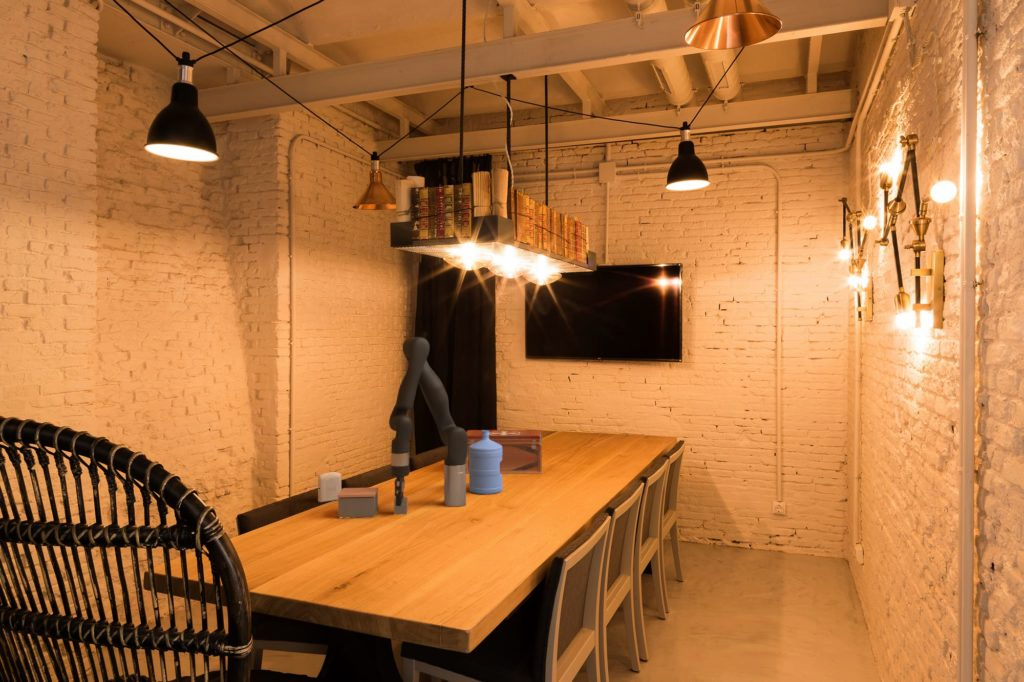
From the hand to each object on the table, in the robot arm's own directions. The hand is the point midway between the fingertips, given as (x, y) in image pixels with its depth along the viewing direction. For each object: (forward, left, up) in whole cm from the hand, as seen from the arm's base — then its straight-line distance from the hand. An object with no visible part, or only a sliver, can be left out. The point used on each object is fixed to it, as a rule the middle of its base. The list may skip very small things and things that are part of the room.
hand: (399, 503), depth 278 cm
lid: (+16, 0, +4) cm, 17 cm away
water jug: (-37, -35, -4) cm, 51 cm away
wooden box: (-48, -82, -4) cm, 95 cm away
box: (+16, 0, -4) cm, 17 cm away
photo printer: (+32, -24, -4) cm, 41 cm away
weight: (-1, 0, -4) cm, 4 cm away
